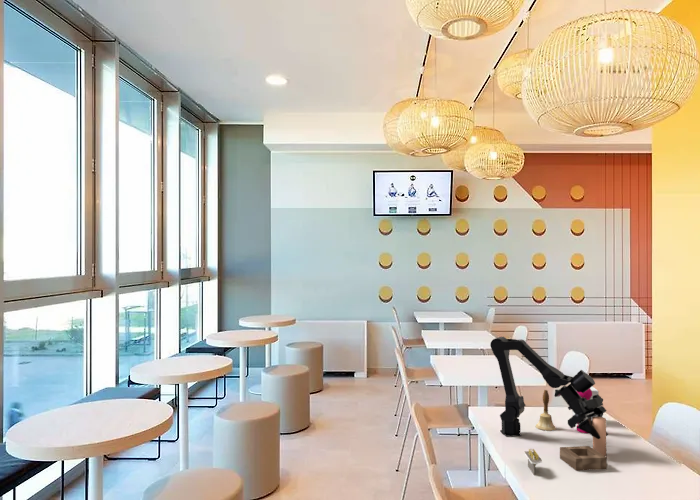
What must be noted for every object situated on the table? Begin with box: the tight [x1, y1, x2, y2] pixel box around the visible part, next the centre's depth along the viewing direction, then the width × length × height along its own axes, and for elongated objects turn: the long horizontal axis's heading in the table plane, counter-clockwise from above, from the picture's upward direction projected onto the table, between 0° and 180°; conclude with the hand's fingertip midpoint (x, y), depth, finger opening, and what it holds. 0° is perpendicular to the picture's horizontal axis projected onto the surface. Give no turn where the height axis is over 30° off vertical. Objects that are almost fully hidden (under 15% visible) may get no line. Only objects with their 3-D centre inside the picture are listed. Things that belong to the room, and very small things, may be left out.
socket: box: [559, 445, 608, 472], centre depth 182 cm, size 11×11×4 cm
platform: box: [523, 448, 543, 476], centre depth 176 cm, size 12×18×7 cm, turn 175°
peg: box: [592, 416, 607, 457], centre depth 191 cm, size 4×4×13 cm
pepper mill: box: [576, 388, 592, 434], centre depth 217 cm, size 7×7×20 cm
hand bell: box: [535, 389, 557, 432], centre depth 221 cm, size 8×8×16 cm
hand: (603, 437), depth 190 cm, fingers open, 5 cm apart
